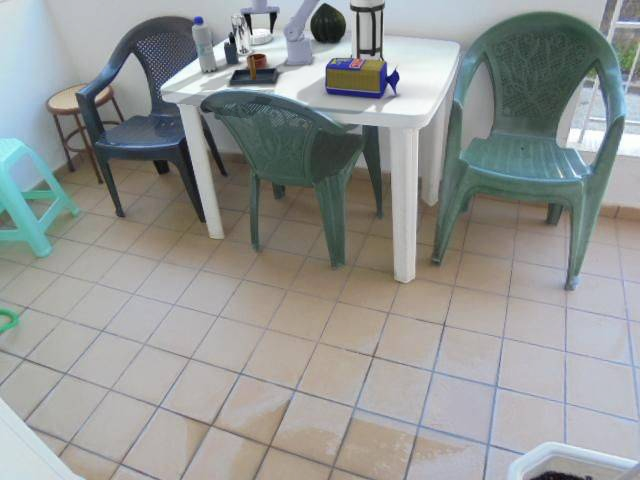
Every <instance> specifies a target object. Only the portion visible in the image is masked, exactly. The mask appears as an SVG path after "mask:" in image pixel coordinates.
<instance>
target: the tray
mask: <svg viewBox="0 0 640 480" xmlns="http://www.w3.org/2000/svg"><path fill="white" fill-rule="evenodd" d="M255 70H256V76H257V79H251V73H250V69H248V68H247V69H246V68H245V69H244V68H243V69H234V70H233V72H232V75H231V77H230V79H229V85H230V86H244V85H248V86H249V85H273V84H274V83H275V81H276V78H277V75H278V68H276V67H273V68H272V67H271V68H268V67H267V68H265V69H255Z"/></svg>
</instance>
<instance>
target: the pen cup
mask: <svg viewBox="0 0 640 480" xmlns="http://www.w3.org/2000/svg"><path fill="white" fill-rule="evenodd" d="M251 55H252V57H254V63H255V69H268V67H269V65H268V58H267V55H266V54H264V53H261V52H260V53H253V54H252V53H251ZM248 58H249V55H247V56H246V66H247V69H250V67H249V61H248Z"/></svg>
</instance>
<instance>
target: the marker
mask: <svg viewBox="0 0 640 480" xmlns="http://www.w3.org/2000/svg"><path fill="white" fill-rule="evenodd" d="M248 56H249V58H248V61H249V67H250V73H251V79H257V76H256V70H255V63H254V57H252V54H248Z"/></svg>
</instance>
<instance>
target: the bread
mask: <svg viewBox="0 0 640 480" xmlns="http://www.w3.org/2000/svg"><path fill="white" fill-rule="evenodd" d="M398 66H399V64H397V65H396V67H395V68H394V69H393V71H392V73H391V74H390V75H388V62H387V61H386V60H385V61H382V60H381V59H379V60H369V59H354V58H351V57H333V58H331V59H330V61H328V63H327V64H326V65H325V73H324V74H325V76H324V77H325V78H324V81H325V82H324V88H325V92H326V93H327V94H328V95H335V96H346V97H347V96H349V97H360V98H369V99H381V98H382V97H383V95H384V94H385V92H386V90H387V89H388V85H389V86H390V88H391V89H392V91H393V93H394V94H395V96H397V95H398V94H397V85H398V83H399V81H400V80H401V77H400V74H399V72H398V71H397V68H398Z"/></svg>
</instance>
